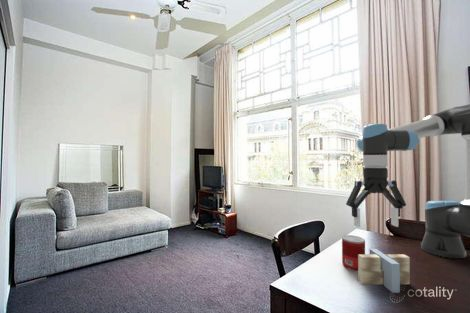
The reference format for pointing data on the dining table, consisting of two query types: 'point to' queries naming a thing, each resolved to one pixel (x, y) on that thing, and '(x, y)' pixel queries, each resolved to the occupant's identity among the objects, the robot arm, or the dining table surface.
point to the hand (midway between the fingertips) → (375, 225)
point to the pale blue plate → (389, 271)
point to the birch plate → (372, 268)
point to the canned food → (352, 251)
